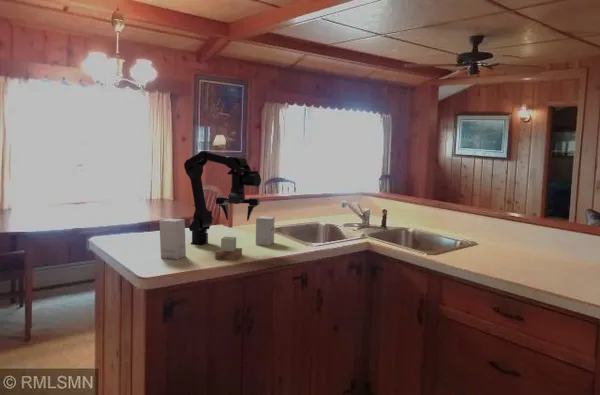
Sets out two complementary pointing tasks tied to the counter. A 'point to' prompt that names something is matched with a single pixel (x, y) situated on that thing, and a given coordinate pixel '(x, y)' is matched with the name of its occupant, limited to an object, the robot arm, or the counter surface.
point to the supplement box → (264, 230)
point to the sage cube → (228, 244)
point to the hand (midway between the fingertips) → (237, 220)
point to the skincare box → (172, 238)
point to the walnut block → (228, 254)
